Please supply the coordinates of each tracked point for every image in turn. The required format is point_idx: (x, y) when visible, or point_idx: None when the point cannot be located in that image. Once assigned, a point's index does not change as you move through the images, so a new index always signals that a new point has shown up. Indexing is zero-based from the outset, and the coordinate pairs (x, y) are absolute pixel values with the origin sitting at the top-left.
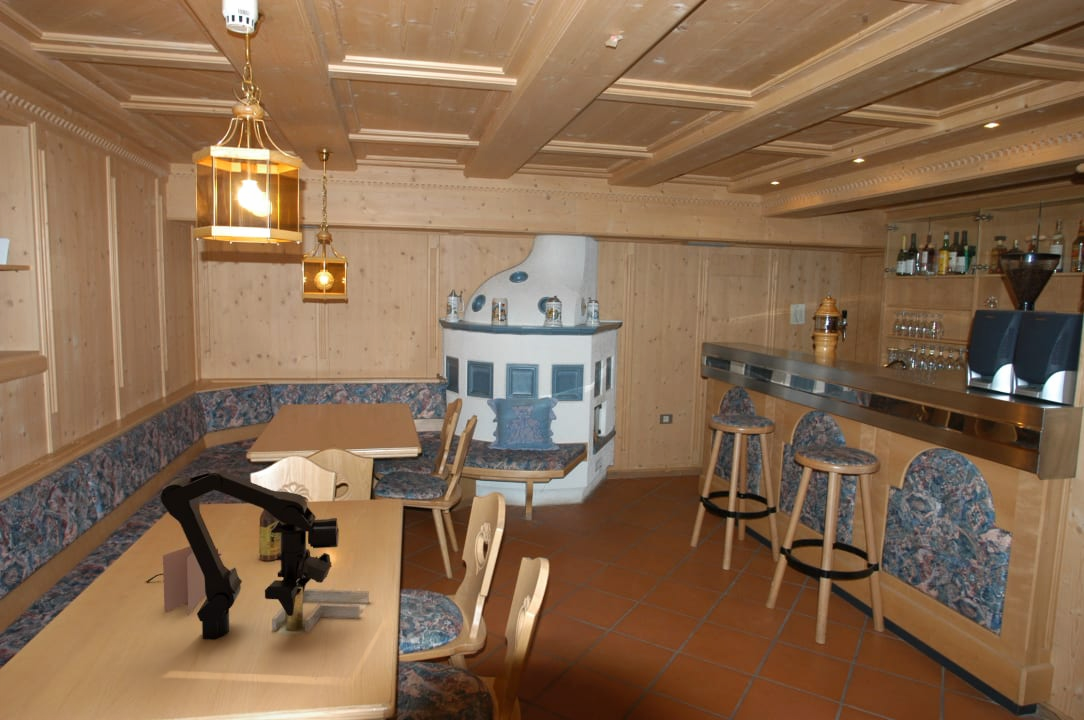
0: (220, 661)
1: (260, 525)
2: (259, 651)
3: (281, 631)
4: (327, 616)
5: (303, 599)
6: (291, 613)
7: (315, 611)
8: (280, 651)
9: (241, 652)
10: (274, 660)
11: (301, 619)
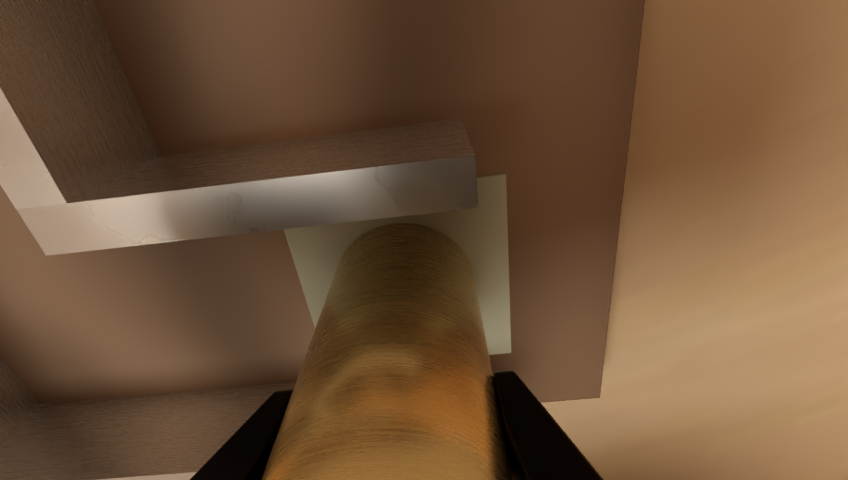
0: (766, 447)
1: None
2: (679, 338)
3: (490, 333)
4: (122, 84)
5: (16, 405)
6: (532, 398)
7: (234, 191)
8: (693, 221)
9: (681, 410)
10: (827, 199)
11: (404, 265)
